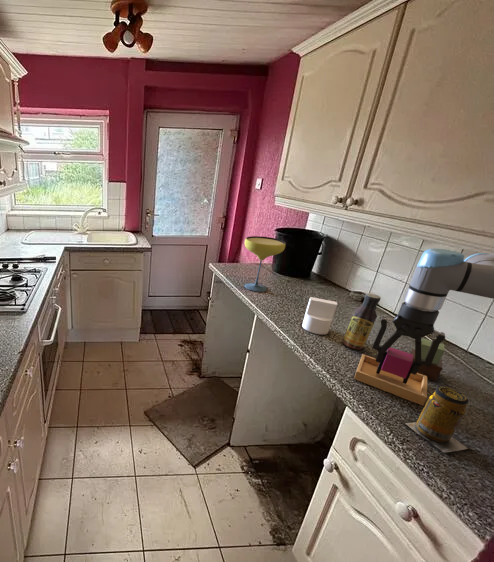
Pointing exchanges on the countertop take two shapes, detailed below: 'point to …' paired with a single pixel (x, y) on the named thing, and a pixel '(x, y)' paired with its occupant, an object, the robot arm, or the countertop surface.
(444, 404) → the condiment
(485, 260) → the robot arm
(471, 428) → the countertop surface
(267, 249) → the cocktail glass
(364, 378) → the oak tray
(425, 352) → the sage block
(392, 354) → the mulberry block
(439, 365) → the walnut block
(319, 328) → the base with upright slab
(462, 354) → the countertop surface
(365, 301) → the sauce bottle
